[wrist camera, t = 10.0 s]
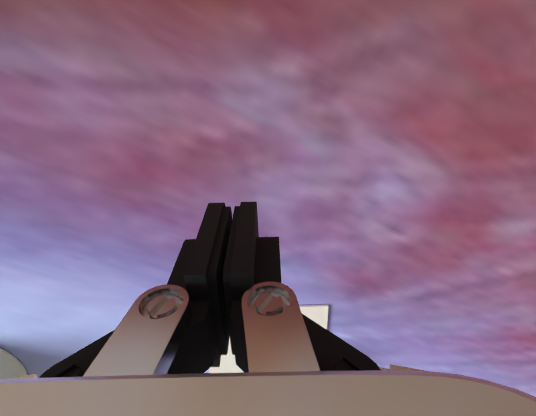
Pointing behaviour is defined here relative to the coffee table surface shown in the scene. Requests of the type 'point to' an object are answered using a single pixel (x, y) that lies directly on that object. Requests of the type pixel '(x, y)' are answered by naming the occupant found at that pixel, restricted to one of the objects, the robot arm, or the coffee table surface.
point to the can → (10, 366)
